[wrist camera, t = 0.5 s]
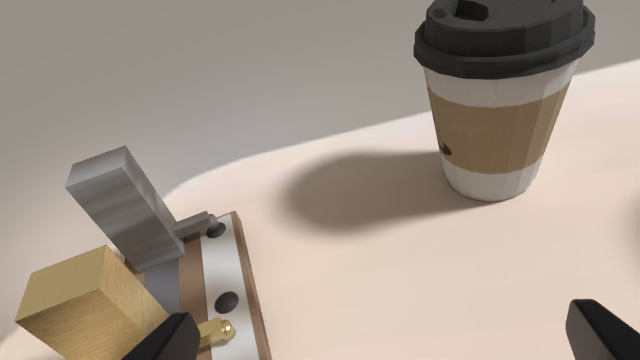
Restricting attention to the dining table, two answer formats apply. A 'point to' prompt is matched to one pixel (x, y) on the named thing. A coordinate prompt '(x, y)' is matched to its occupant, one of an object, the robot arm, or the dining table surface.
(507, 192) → the coffee cup
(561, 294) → the dining table surface
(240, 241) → the gauge board
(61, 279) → the leg
